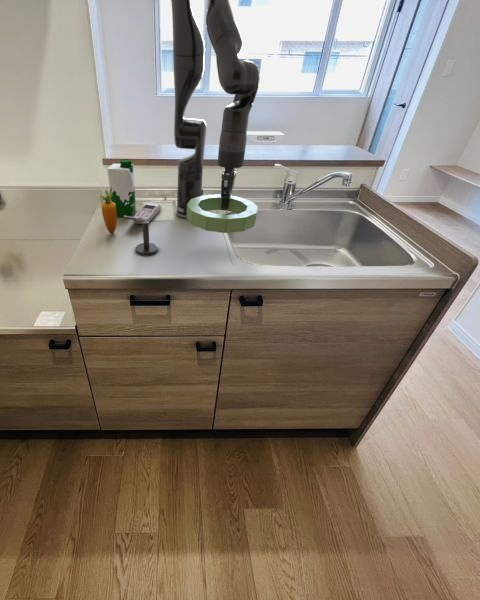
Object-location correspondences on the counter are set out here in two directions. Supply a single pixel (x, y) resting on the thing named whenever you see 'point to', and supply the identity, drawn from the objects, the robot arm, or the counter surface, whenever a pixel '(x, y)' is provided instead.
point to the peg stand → (146, 243)
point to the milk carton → (122, 187)
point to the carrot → (109, 213)
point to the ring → (219, 221)
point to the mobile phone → (145, 213)
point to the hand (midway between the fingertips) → (225, 207)
